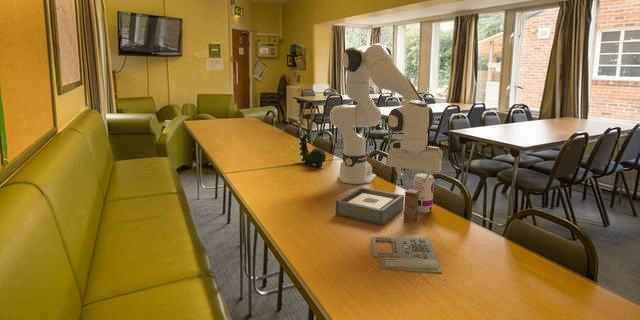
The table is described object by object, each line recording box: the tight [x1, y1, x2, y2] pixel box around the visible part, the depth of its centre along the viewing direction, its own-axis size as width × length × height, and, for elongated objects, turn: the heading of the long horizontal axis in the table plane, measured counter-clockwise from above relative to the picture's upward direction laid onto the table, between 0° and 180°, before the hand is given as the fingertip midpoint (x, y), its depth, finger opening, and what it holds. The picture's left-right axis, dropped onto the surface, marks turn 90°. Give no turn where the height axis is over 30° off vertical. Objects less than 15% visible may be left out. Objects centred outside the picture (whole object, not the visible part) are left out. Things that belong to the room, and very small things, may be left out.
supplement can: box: [412, 172, 435, 214], centre depth 167 cm, size 8×8×15 cm
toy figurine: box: [298, 133, 327, 169], centre depth 239 cm, size 9×19×25 cm
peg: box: [403, 188, 419, 224], centre depth 156 cm, size 4×4×12 cm
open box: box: [335, 186, 405, 227], centre depth 166 cm, size 22×20×6 cm
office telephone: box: [371, 235, 443, 274], centre depth 130 cm, size 23×3×20 cm
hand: (412, 180), depth 153 cm, fingers open, 8 cm apart
